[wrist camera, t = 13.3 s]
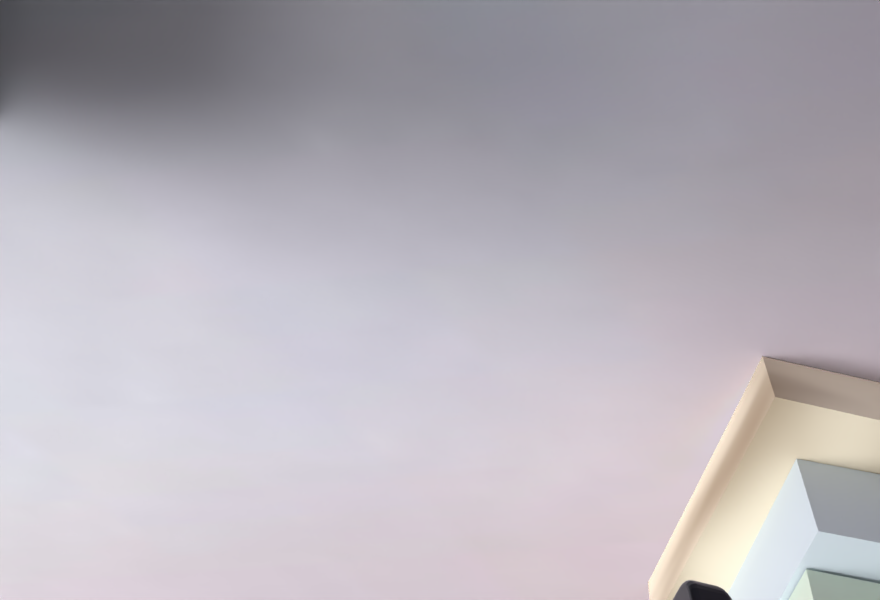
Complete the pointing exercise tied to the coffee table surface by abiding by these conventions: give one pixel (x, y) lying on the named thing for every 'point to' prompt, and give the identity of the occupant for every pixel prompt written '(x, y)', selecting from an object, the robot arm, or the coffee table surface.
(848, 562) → the tower top
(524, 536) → the coffee table surface
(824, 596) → the column
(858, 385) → the tower base
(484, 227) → the coffee table surface
